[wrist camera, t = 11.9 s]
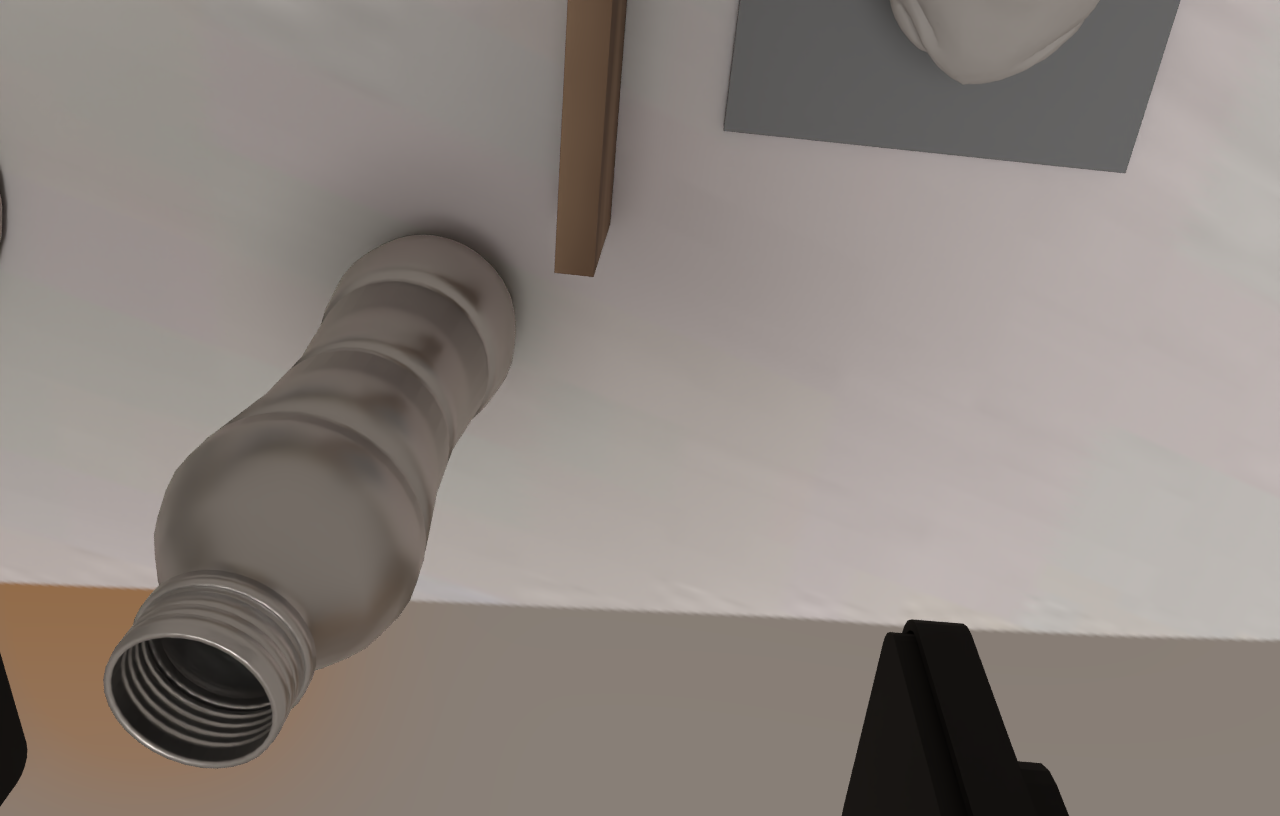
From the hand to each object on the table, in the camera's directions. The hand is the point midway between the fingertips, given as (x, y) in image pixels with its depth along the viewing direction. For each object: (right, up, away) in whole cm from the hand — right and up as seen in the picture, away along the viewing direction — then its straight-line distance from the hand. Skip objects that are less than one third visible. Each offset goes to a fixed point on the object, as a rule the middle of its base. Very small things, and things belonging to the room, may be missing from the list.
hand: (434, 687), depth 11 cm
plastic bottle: (-5, +7, +27) cm, 29 cm away
